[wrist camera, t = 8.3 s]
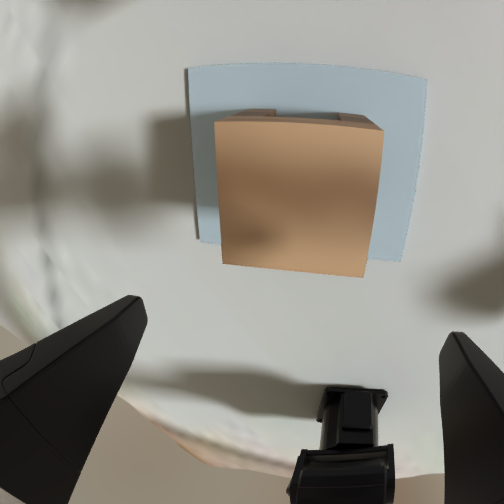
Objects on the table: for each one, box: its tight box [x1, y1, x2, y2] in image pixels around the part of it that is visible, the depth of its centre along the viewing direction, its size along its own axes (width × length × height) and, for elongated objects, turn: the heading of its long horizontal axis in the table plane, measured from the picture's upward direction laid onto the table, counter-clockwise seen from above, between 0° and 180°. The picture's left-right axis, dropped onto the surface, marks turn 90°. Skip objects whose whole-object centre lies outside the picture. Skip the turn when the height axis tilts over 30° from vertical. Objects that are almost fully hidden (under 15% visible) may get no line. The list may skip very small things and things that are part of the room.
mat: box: [188, 63, 427, 262], centre depth 18 cm, size 12×14×1 cm
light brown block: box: [214, 109, 384, 278], centre depth 15 cm, size 6×6×6 cm
